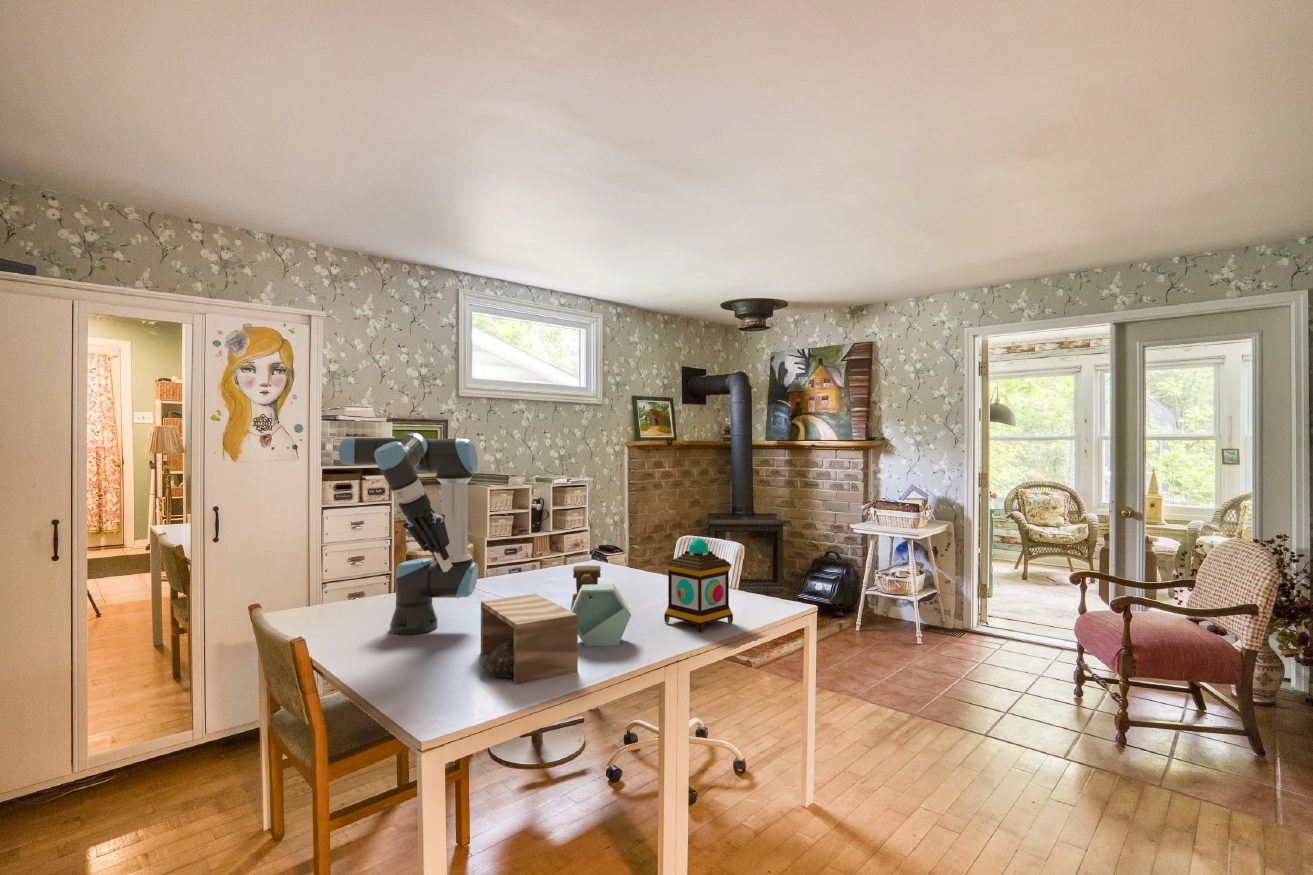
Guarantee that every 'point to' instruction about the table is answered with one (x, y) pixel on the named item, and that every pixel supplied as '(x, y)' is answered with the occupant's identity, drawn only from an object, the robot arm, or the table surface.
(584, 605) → the planter
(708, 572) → the decorative lantern
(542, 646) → the walnut shelf
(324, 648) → the table surface
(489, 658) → the turtle shell
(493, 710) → the table surface
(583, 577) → the wooden toy train
